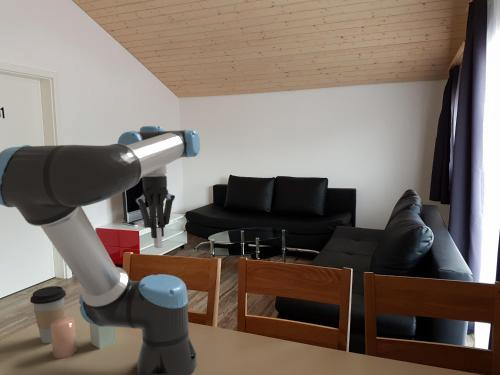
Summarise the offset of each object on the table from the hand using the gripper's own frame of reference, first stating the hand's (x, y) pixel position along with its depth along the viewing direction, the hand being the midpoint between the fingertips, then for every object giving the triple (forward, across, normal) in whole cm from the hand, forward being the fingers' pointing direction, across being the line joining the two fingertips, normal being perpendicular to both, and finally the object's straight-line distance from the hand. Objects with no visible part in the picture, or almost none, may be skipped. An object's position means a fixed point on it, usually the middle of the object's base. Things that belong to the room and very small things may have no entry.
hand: (158, 247), depth 122 cm
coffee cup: (+25, +31, -11) cm, 41 cm away
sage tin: (+25, +20, +2) cm, 32 cm away
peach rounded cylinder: (+24, +30, 0) cm, 39 cm away
